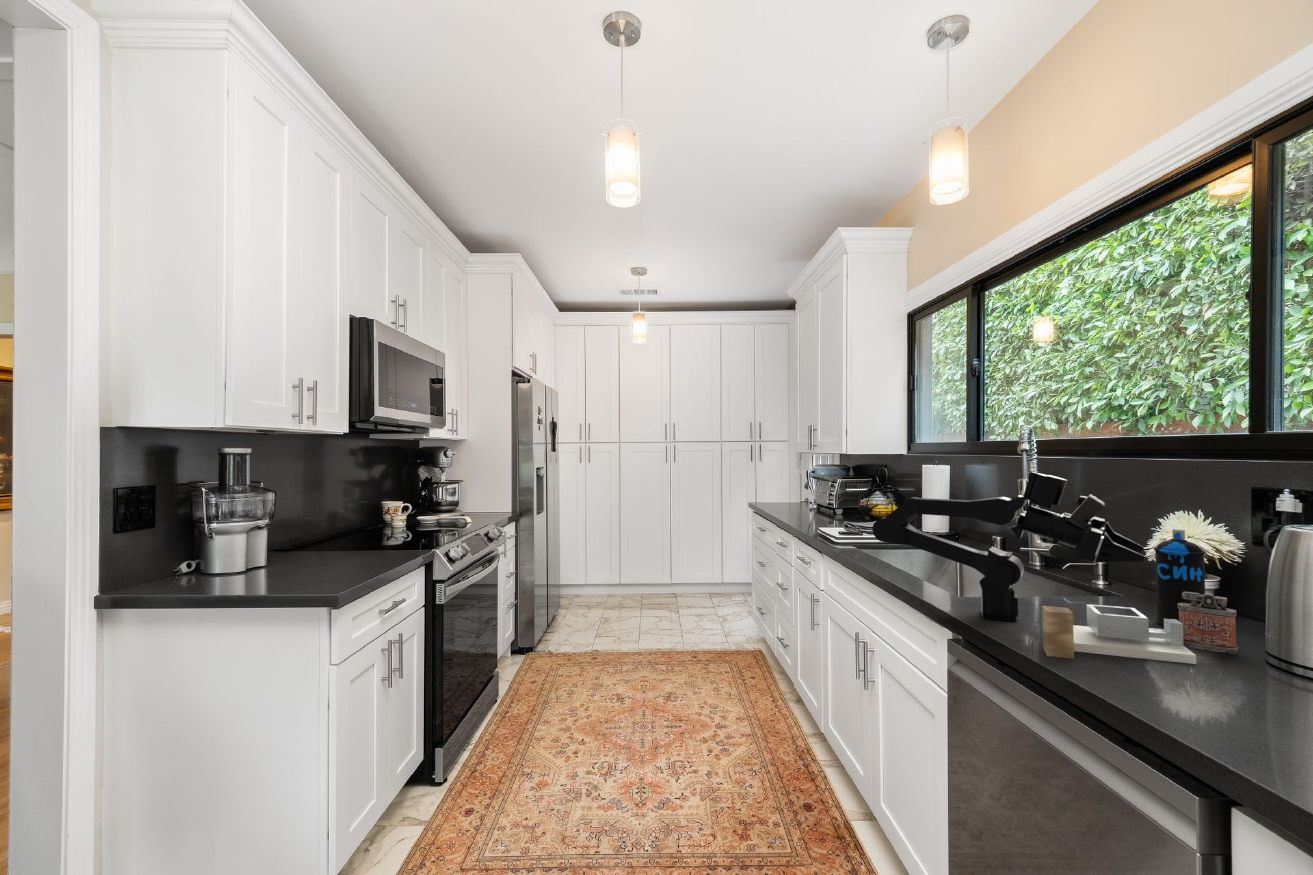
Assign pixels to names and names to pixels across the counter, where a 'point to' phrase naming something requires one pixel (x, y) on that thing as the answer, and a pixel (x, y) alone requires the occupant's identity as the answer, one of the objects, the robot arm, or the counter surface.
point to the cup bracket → (1131, 625)
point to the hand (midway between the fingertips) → (1143, 554)
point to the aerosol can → (1177, 574)
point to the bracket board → (1130, 647)
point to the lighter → (1208, 623)
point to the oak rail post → (1058, 632)
